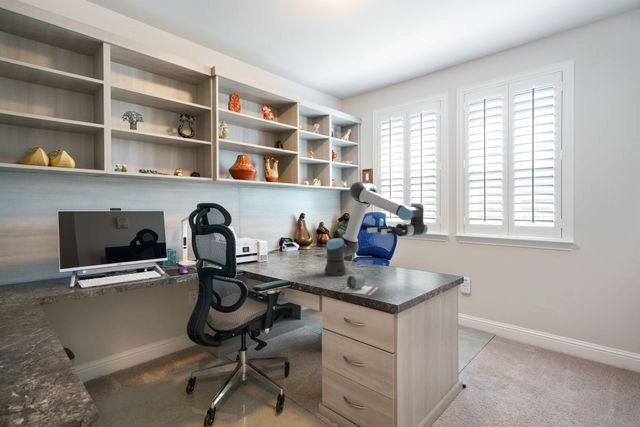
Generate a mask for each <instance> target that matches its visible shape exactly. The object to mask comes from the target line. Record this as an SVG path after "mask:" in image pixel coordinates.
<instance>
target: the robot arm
mask: <svg viewBox="0 0 640 427" xmlns="http://www.w3.org/2000/svg"><path fill="white" fill-rule="evenodd" d="M349 195H350V196H351V197H352V199H353V201H354V205H353V209H352V212H351V214H350V217H349V220H348V224H347V227H346V230H345V233H343V234H342V236H341V237H339V238H336V237H335V238H330V239H328V240H327V242H326V265H325V268H324V271H323V272H324V273H323V274H324V275H325V276H330V277H338V276H345V275H347V268H346V264H345V257H349V256H350V257H351V256H353V255H355V254H356V253H357V252H358V251H359V246H360V245H359V242H358V241H359V239H358V235H359V232H360V230H361V226H362V223H363V220H364V218H365V215H366V212H367V208H368V206H370V205H372V206H374V207H376V208H379V209H381V210H384V211H385V212H388V213H391V214H392V215H395V216H397V217H398V218H399V219H400V220H403V221H410V223H408V222H405V223H397V224H396V225H395V226H388V227H385V226H383V227H381V226H380V227H378V226H377V227H367V228H366V233H369V234H370V233H376V234H378V233H380V235H382V236H383V235H384V236H385V235H396V236H398V237H407V238H409V237H410V236H413V237H414V236H423V235H425V234H427V232H428V225H427V224H426V223H425V222H424V204H423V203H422V202H421V203H419V202H418V203H417V202H416V203H411V204H410V206H408V205H406V204H403V203H402V202H399V201H396V200H394V199H392V198H388V197H387V196H384V195H382V194H379V193H378V190H377V187H376V185H374V184H373V183H371V182H367V181H365V182H362V181H356V182H353V183H352V184H351V185H350V187H349Z"/></svg>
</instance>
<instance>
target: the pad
mask: <svg viewBox="0 0 640 427" xmlns="http://www.w3.org/2000/svg"><path fill="white" fill-rule="evenodd" d="M373 288H374V287H373V286H366V285H364V286H363V287H362V288H358V289H354V290H351V289H349V288H348V286H346V287H345V288H344V289H342V290H341V293H349V294H356V295H365V296H366V294H367V293H369V292H371V291H372V289H373Z"/></svg>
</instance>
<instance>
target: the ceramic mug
mask: <svg viewBox="0 0 640 427" xmlns="http://www.w3.org/2000/svg"><path fill="white" fill-rule="evenodd" d="M363 286H366V279H365V277H364V276H363V275H362V274H351V275H349V276H347V278H346V283H345V287H348V288H349V289H351V290H354V289H358V288H362V287H363Z"/></svg>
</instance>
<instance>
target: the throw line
mask: <svg viewBox="0 0 640 427" xmlns="http://www.w3.org/2000/svg"><path fill="white" fill-rule="evenodd" d="M379 288H380V287H378V286H376V287H375V288H374V289H373V290H372V289H371V290H370V291H369V292H368V294H367V296H369V297H370V296H372V295H374V293H375V292H376V291H377V290H379Z"/></svg>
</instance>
